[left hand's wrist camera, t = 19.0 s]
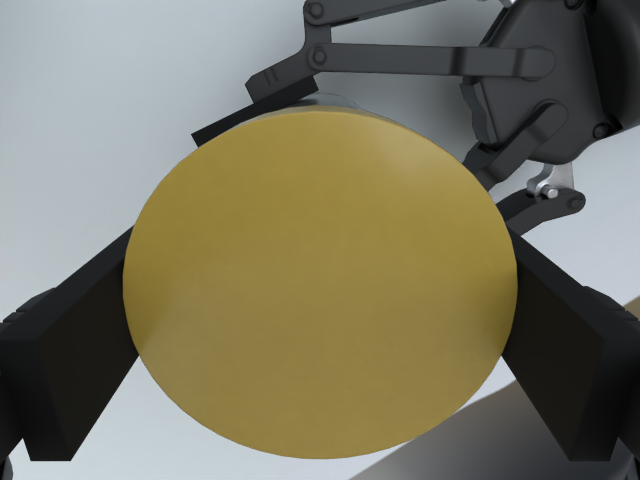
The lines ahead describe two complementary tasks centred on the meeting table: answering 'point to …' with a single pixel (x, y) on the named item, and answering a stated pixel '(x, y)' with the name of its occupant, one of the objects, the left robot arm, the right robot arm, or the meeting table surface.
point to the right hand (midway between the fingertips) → (245, 216)
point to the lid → (320, 283)
